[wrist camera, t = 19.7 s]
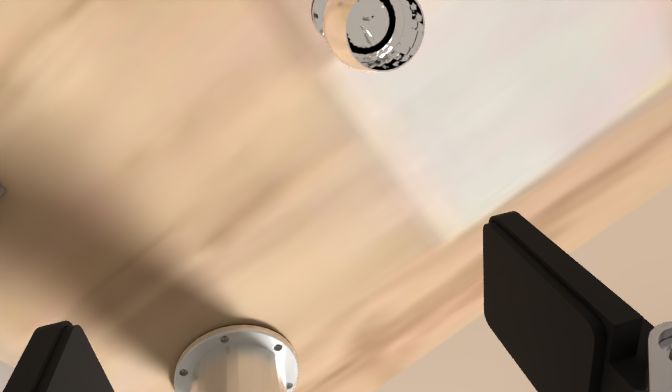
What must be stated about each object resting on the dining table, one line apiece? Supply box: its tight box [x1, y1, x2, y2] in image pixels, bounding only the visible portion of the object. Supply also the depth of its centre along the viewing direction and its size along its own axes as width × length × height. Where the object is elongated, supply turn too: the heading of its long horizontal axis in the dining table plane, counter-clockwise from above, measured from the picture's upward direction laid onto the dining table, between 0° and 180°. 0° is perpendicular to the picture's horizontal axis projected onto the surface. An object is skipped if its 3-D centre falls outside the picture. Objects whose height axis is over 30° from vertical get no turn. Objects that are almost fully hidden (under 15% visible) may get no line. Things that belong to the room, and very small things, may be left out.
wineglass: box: [312, 0, 425, 73], centre depth 32 cm, size 6×6×12 cm
